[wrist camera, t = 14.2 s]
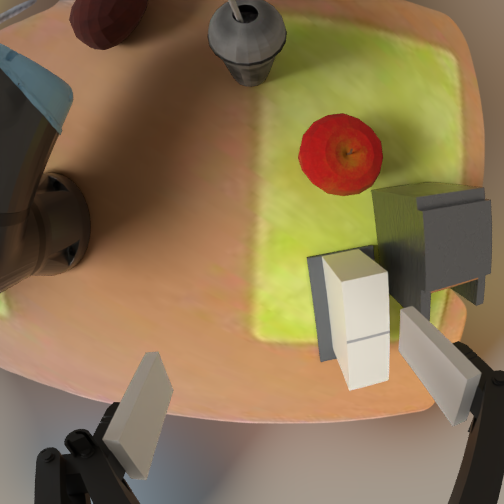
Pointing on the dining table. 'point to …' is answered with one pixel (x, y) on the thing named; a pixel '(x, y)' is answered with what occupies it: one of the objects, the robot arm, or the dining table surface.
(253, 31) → the beverage cup
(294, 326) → the dining table surface
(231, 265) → the dining table surface
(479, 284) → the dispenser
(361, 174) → the apple
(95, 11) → the potato
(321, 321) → the mat
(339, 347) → the white rectangular block
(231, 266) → the dining table surface
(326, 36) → the dining table surface
